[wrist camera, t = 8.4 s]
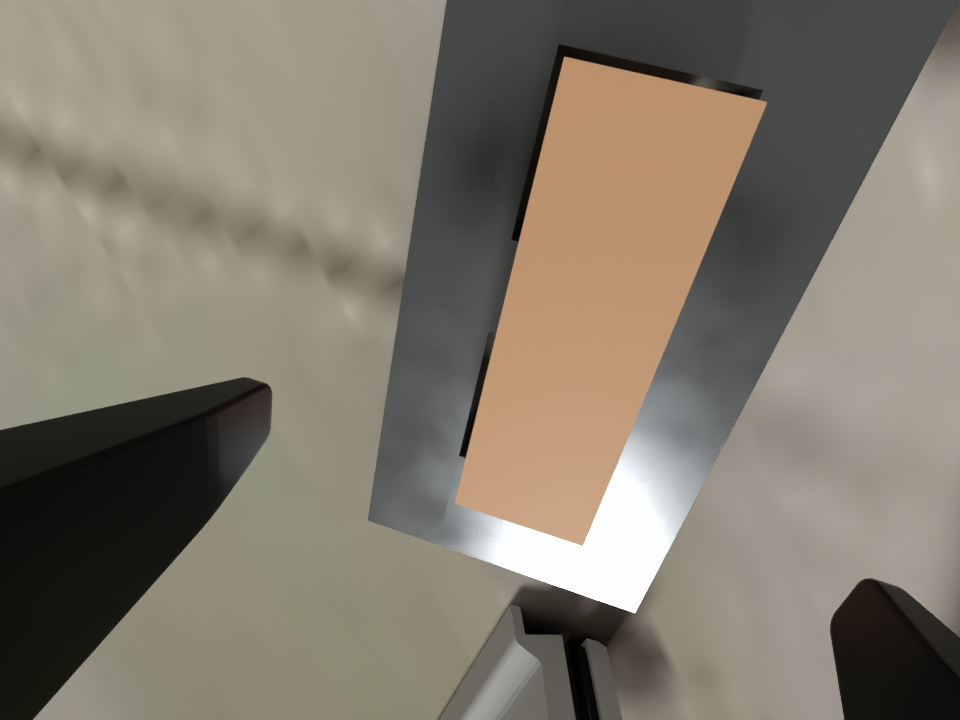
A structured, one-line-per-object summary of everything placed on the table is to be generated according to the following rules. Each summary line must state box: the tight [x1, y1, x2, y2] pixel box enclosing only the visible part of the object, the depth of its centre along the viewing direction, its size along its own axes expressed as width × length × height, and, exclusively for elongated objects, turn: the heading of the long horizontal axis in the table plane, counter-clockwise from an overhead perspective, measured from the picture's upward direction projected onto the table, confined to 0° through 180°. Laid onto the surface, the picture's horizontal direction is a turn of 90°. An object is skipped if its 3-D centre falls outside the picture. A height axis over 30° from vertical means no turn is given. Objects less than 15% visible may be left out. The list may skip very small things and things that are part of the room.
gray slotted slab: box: [368, 0, 958, 613], centre depth 17 cm, size 11×22×3 cm, turn 168°
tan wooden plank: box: [455, 57, 767, 546], centre depth 16 cm, size 4×12×6 cm, turn 168°
